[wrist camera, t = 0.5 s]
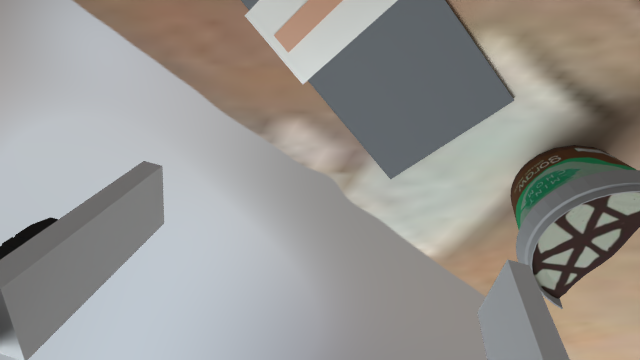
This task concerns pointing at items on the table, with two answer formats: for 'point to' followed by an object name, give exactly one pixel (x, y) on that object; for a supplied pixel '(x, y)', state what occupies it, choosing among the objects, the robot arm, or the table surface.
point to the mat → (409, 83)
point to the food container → (573, 214)
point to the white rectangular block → (312, 28)
